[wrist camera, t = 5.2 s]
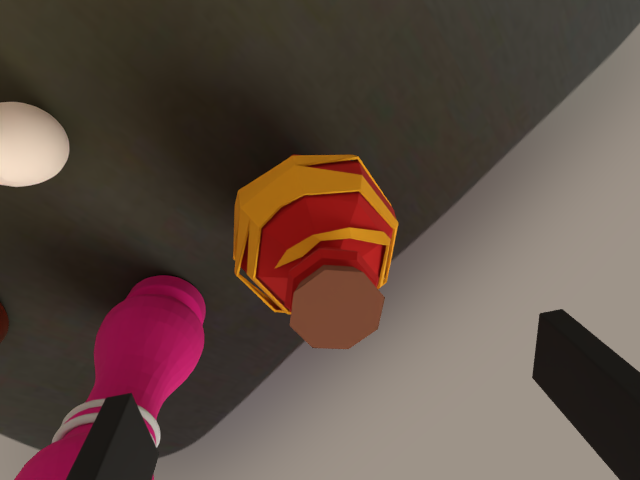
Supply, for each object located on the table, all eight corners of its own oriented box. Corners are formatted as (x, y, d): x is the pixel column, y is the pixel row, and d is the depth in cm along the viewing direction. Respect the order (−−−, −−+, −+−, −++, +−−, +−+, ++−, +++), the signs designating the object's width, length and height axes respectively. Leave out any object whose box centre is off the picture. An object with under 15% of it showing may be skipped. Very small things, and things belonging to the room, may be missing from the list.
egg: (74, 97, 25) (13, 106, 19) (92, 170, 27) (41, 200, 21) (-5, 98, 25) (-95, 108, 19) (19, 173, 27) (-55, 203, 21)
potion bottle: (356, 114, 28) (437, 158, 14) (383, 240, 32) (466, 368, 18) (215, 155, 28) (162, 239, 14) (261, 276, 32) (254, 429, 19)
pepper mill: (112, 330, 33) (-88, 661, 14) (131, 257, 30) (-81, 543, 12) (198, 351, 34) (117, 667, 16) (222, 283, 32) (159, 565, 14)
